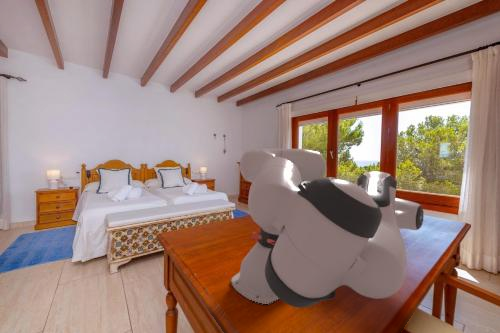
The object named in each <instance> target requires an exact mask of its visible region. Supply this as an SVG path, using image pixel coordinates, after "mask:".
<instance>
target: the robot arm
mask: <svg viewBox="0 0 500 333" xmlns="http://www.w3.org/2000/svg"><path fill="white" fill-rule="evenodd" d="M239 161H240V162H239V171H240V175H242V178H243V179H244V180H245V181H247V182H250V183H251V185H250V187H249V192H248V200H247V208H248V212H249V215H250V217H251V219H252V220H253V221H254V223H255V224H257V225H258V226H259V227H260V229H259V233H257V231H253V232H252V234H251V239H253V240H255V241H257V242H256V243H255V244H254V245H253V247H252V248H251V249H250V250H249V251H248V253H247V254H246V256H245V257H244V258H242V260H241V263H240V269H239V272H238V273H236V274H235V275H234V276H232V277H231V280H230V281H231V285H232V287H233V288H234V289H235V291H236V292H238V293H239V294H241V295H242V296H243V297H245V298H246V299H247V300H250V301H251V300H252V301H251V302H253V301H255V302H254V303H256V302H258V303H257V304H259V303H262V304H261V305H263V304H268V305H270V304H272V303H274V302H273V301H275V302H276V300H277V301H279V300H280V301H282V302H284V303H285V304H287V305H289V306H290V307H293V308H299V309H303V308H308V307H311V306H314V305H315V304H318V303H320V302H322V301H323V302H324V301H329V300H332V299H335V297H336V290H337V288H339V287H342V286H347V287H349V288H350V289H352V290H353V291H355V292H356V293H358V294H359V295H361V296H363V297H366V298H370V299H377V300H380V299H387V298H390V297H392V296H393V295H395V294H396V293H397V292H398V291H399V290H400V289H401V287H402V286H403V282H404V280H405V278H406V274H407V268H408V267H407V266H408V260H407V259H408V256H407V251H406V246H405V242H404V240H403V239H404V238H403V235H402V233H401V230H402V229H403V230H409V231H418V230H420V228H422V226H423V222H424V215H425V214H424V209H423V206H422V205H421V204H419V203H418V202H415V201H412V200H407V199H404V198H403V199H402V198H398V197H396V194H397V193H396V192H397V191H396V190H397V187H398V186H397V184H398V181H397V179H396V178H395V177H393V176H392V175H391V173H388V172H384V171H376V170H375V171H373V170H372V171H368V172H364V173H362V174H361V175H360V176H359V177H358V178H357V179H356V181H357V183H356V184H355V183H353V182H351V181H348V180H345V179H342V178H341V179H339V178H337V177H332V176H331V177H329V176H328V177H327V176H326V172H327V164H326V163H327V162H326V160H325V157H324V156H323V155H322V153H321V152H320V151H315V150H311V149H306V148H265V147H264V148H256V149H251V150H246V151H245V152H244V153H243V155H242V156H241V158H240V160H239ZM325 176H326V177H325ZM278 299H279V300H278ZM271 302H272V303H271ZM269 303H270V304H269Z"/></svg>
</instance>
